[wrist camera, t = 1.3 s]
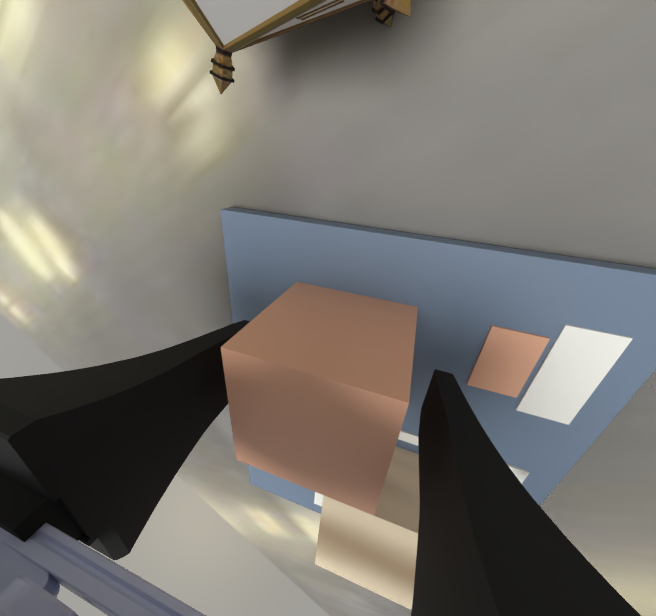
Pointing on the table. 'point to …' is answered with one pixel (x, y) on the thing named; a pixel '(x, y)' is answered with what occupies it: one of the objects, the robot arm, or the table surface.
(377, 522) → the beech block
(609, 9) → the table surface
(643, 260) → the table surface
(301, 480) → the terracotta cube
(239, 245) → the board
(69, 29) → the table surface
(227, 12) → the game die
